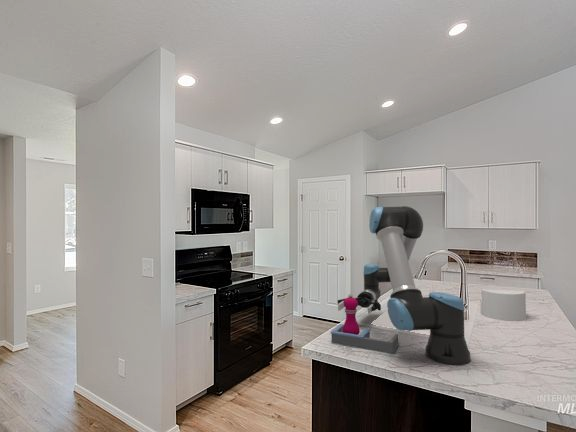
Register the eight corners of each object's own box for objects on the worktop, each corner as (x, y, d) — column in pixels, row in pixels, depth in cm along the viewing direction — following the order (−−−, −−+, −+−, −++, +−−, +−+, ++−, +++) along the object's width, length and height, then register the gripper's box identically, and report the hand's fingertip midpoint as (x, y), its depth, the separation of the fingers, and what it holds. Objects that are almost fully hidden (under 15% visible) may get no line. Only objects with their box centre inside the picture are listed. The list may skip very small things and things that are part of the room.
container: (514, 310, 183) (513, 286, 183) (534, 322, 164) (533, 294, 164) (474, 309, 187) (474, 285, 187) (489, 320, 167) (489, 293, 167)
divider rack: (398, 343, 139) (398, 332, 139) (392, 353, 129) (392, 341, 129) (340, 334, 151) (340, 324, 151) (330, 343, 141) (330, 332, 141)
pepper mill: (360, 344, 139) (359, 295, 139) (342, 343, 141) (341, 295, 141) (359, 337, 146) (358, 292, 147) (343, 337, 148) (342, 291, 148)
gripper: (392, 309, 161) (382, 321, 142) (342, 303, 173) (327, 314, 154) (392, 293, 161) (381, 303, 142) (342, 288, 173) (326, 298, 154)
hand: (353, 309), depth 148 cm, fingers open, 13 cm apart
